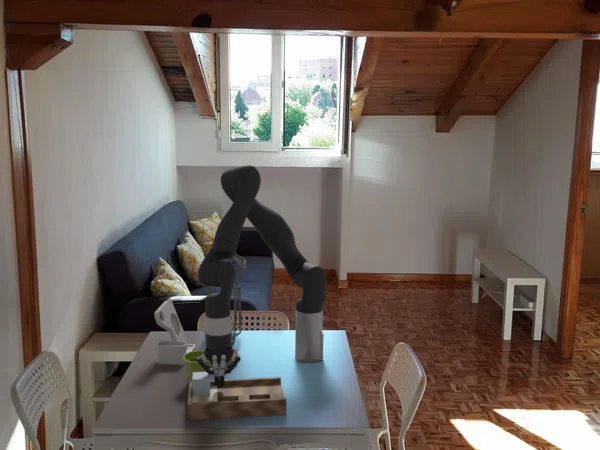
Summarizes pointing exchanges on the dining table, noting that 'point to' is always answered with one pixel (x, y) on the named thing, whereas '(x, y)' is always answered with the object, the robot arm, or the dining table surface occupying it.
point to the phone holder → (168, 349)
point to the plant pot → (194, 363)
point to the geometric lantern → (242, 266)
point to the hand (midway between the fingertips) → (219, 387)
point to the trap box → (239, 399)
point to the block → (201, 383)
